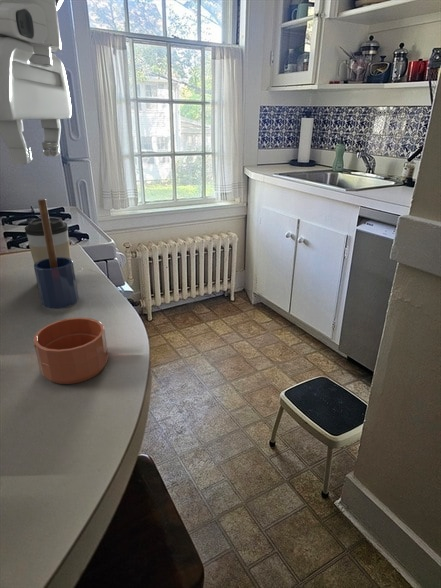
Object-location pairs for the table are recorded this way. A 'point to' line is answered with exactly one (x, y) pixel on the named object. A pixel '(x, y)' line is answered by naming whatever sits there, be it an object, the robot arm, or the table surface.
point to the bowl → (71, 350)
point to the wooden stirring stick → (47, 233)
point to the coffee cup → (39, 243)
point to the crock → (56, 283)
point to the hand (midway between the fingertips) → (38, 159)
